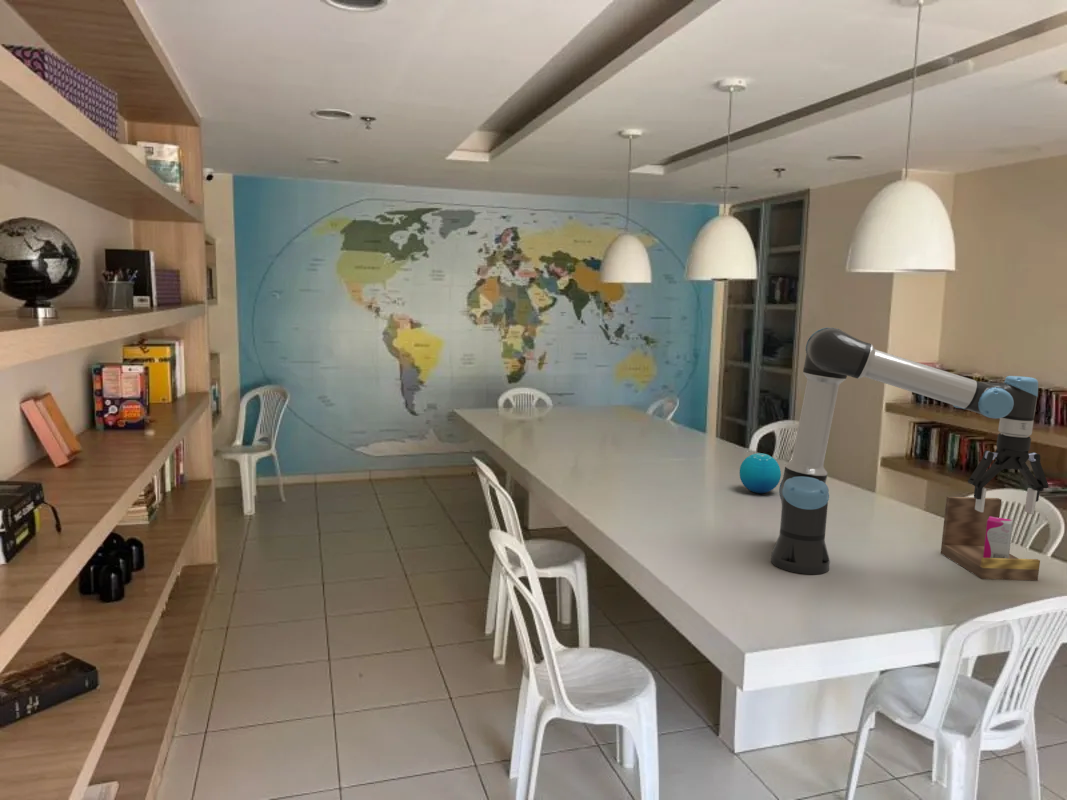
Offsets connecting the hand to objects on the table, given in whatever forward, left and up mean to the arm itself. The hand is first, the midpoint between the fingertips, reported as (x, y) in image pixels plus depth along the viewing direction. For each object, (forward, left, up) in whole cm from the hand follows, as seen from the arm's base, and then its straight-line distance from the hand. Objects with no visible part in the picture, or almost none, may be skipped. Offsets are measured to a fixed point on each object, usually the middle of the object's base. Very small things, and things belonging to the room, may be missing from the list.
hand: (1004, 512), depth 200 cm
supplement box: (0, +1, -14) cm, 14 cm away
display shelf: (0, +5, -17) cm, 18 cm away
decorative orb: (-41, +79, -17) cm, 91 cm away
